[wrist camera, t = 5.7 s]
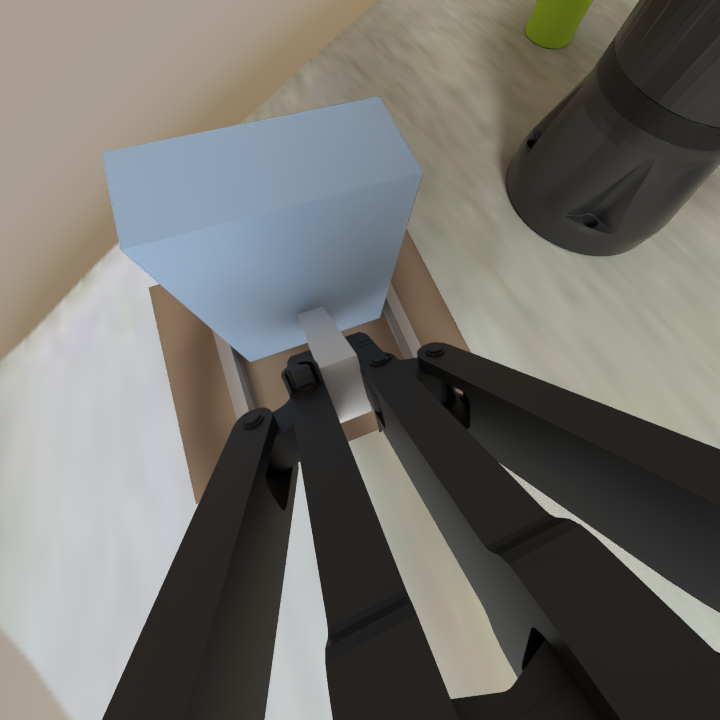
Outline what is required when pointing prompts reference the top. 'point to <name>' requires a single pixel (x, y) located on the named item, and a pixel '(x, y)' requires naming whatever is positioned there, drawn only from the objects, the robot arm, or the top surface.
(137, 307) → the top surface
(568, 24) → the soap dispenser
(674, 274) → the top surface
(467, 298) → the top surface
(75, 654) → the top surface
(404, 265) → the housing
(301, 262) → the blue-grey rectangular block
